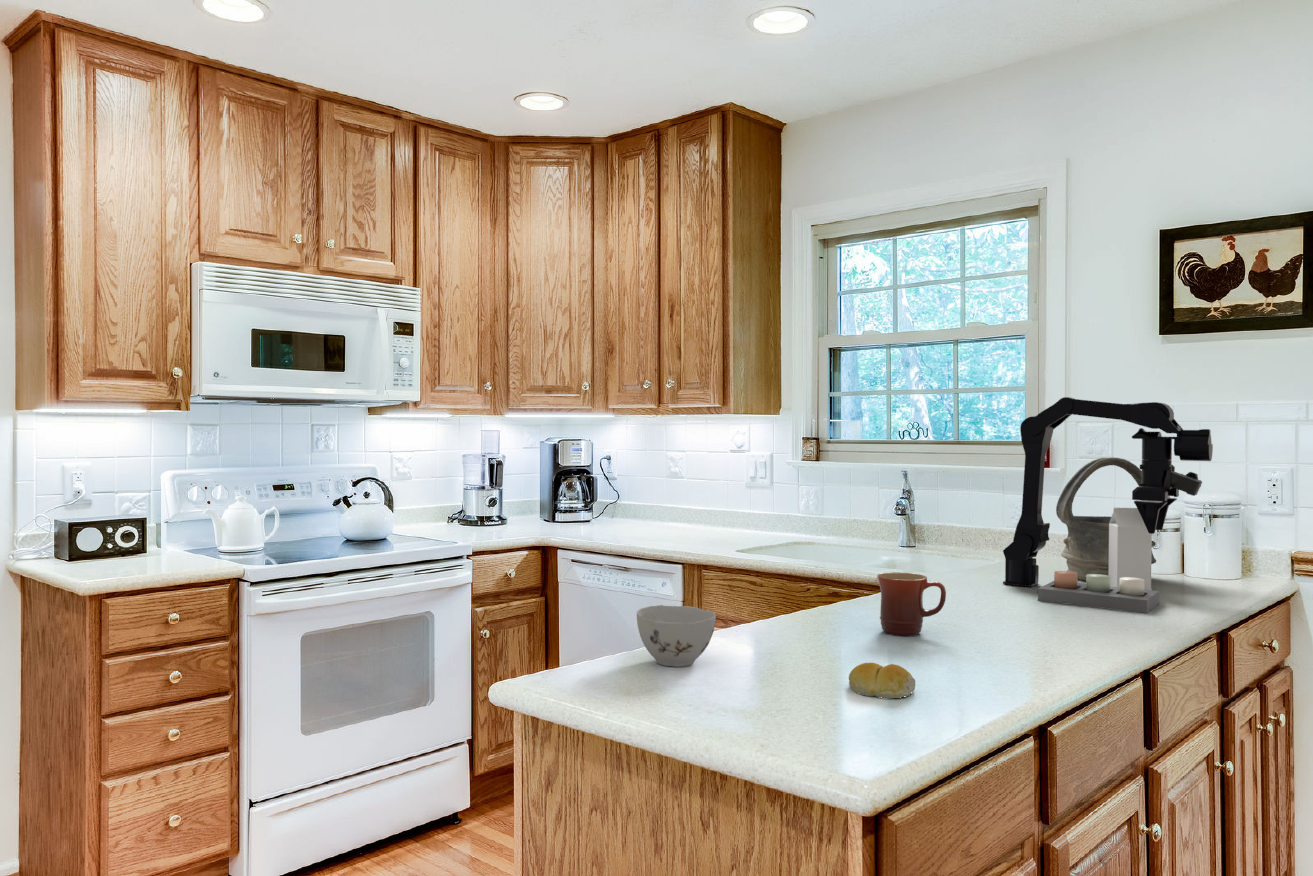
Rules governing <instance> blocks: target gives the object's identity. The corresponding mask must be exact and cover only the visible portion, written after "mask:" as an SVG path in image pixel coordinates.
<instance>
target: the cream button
mask: <svg viewBox="0 0 1313 876" xmlns="http://www.w3.org/2000/svg"><path fill="white" fill-rule="evenodd" d="M1119 593H1121V594H1126V595H1144V579H1140V578H1132V577H1121V578H1120V585H1119Z"/></svg>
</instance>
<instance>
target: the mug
mask: <svg viewBox="0 0 1313 876" xmlns="http://www.w3.org/2000/svg"><path fill="white" fill-rule="evenodd" d="M876 577H877V580H878V585H879V589H880V614H879V615H880V617H879V620H880V625H881V629H882V631H884V632H885V634H887V635H888V634H889V635H891V634H892V635H893V636H897V635H898V636H899V637H912V636H911V635H913V636H917V635H918V634H920V633H921V632H922V629H923V623H924V618H927V617H928V618H929V617H932V616H935V615H936V614H938V613H940V611H942V609H943V608H944V606H945V603H946V599H947V598H946V597H947V589H946V587H945V585H944V584H942V582H939V581H936V580H935V581H933V580H928V577H927V576H926V575H923V574H919V573H913V572H900V571H899V572H898V571H897V572H895V571H894V572H890V571H889V572H881V573H877V575H876ZM931 587H938V589H940V598H939V602H938V604H937V606H936V607H935V608H931V609H925V608H924V604H923V601H924V600H923V597H924V596H923V594H924V591H925V590H927V589H928V588H931ZM916 634H917V635H916Z"/></svg>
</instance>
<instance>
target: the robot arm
mask: <svg viewBox="0 0 1313 876" xmlns="http://www.w3.org/2000/svg"><path fill="white" fill-rule="evenodd" d="M1073 415H1074V416H1084V417H1090V418H1091V417H1093V418H1100V419H1101V418H1102V419H1108V420H1109V419H1112V420H1119V421H1124V422H1128V423H1131V424H1134V425H1138V426H1140V428H1139V429H1138V430H1137V431H1136V432H1135V433H1134V434H1132V435H1131V438H1132V439H1134V440H1135V439H1137V440H1139V439H1140V440H1141V464H1139V469H1140V470H1141V471H1142V483H1140V486H1136V487H1134V489H1133V490H1132V491H1131V492H1132V493H1131V495H1132V496H1131V497H1132V498H1131V500H1133V504H1135V506H1136V507H1135V508H1137V509H1138V511H1139V513H1140V515H1141V517H1142V519H1143V522H1144V524H1145V526H1146V528H1147V530H1148V533H1150V534H1152V535H1153V534H1155V533H1156V531H1163V529H1164V525H1165V520H1166V517H1167V513H1168V510H1169V507H1170V506H1171V505H1172V504H1173V503H1175V502H1176V501H1177V500H1178V497H1180V491H1182V492H1184V493H1186V494H1187V495H1189V496H1197V495H1198V492H1199V491H1200V489H1201V487H1202V484H1203V481H1202V480H1200V479H1199V476H1198V475H1199V474H1197V473H1195V472H1193V471H1189V472H1187V473H1186V474H1184V473H1179V472H1176V470H1175V469H1176V467H1175V466H1174V464H1172V458H1173V457H1172V455H1174V456H1176V457H1179V460H1180V461H1185V462H1186V461H1187V462H1188V461H1189V462H1190V461H1191V462H1211V461H1212V459H1213V450H1214V449H1213V448H1214V447H1213V443H1212V442H1213V441H1212V435H1211V432H1212V431H1211V429H1208V428H1207V429H1206V428H1204V429H1203V428H1202V429H1183V428H1182V425H1180V424H1179V423H1178V422H1177V421H1176V419H1175V413H1174V410H1173V408H1172V407H1171V406H1170V405H1169V404H1168V403H1167V404H1166V403H1165V402H1164V403H1163V402H1157V401H1154V402H1153V401H1152V402H1139V403H1138V402H1136V403H1135V402H1134V403H1116V402H1106V401H1099V400H1098V401H1096V400H1087V399H1078V398H1077V399H1076V398H1073V397H1071V396H1070V397H1068V396H1066V397H1065V396H1064V397H1062V398H1059V399H1058V401H1056V402H1055V403H1053V404H1052V405H1050V406H1049V407H1047V408H1045V409H1044V410H1042V411H1041V412H1039V413H1038V414H1037V415H1036V416H1035V415H1034V416H1029V417H1027V418H1025V419H1024V420H1023V421H1022V422H1021V424H1020V427H1019V430H1020V439H1021V444H1022V448H1023V451H1024V455H1025V456H1024V457H1025V458H1024V470H1023V471H1024V472H1023V485H1022V486H1023V488H1022V500H1021V501H1022V504H1021V513H1020V517H1019V519H1018V522H1017V524H1016V526H1015V531H1014V535H1013V540H1012V542H1011V543H1010V544H1009V545H1007V547H1005V548H1004V549H1003V550H1002V553H1003V555H1004V558H1005V559H1004V560H1005V563H1004V564H1005V565H1004V566H1005V575H1004V576H1005V577H1004V578H1005V579H1004V581H1002V584H1003V585H1011V586H1012V585H1013V586H1020V587H1031V588H1032V587H1033V586H1036V585H1038V584H1039V576H1040V575H1039V574H1040V573H1039V572H1040V571H1039V568H1040V567H1039V565H1038V564H1037V558H1036V557H1037V555H1038V553H1039V551H1041V550H1042V549H1044V548H1045V546H1046V544H1047V541H1050V537H1049V531H1050V527H1051V523H1049V522H1047V523H1046V522H1045V521H1044V519H1043V516H1042V509H1043V498H1044V497H1043V493H1044V479H1045V464H1046V463H1045V462H1046V454H1047V452H1048V450H1049V447H1050V445H1051V442H1052V438H1053V433H1054V430H1055V429H1056V428H1058V427H1059V426H1060V425H1062V423H1064V422H1065V421H1066V420H1067V419H1069V417H1071V416H1073ZM1141 426H1142V427H1145V428H1149V429H1153V430H1155V429H1159V430H1161V431H1162V432H1164V433H1166V434H1176V436H1162V432H1161V431H1147V430H1145V429H1144V428H1142V427H1141ZM1173 441H1174V442H1173ZM1172 444H1173V445H1172ZM1172 447H1173V448H1172ZM1172 451H1173V452H1172ZM1172 453H1173V454H1172ZM1155 529H1157V530H1155Z"/></svg>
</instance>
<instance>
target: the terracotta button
mask: <svg viewBox="0 0 1313 876" xmlns="http://www.w3.org/2000/svg"><path fill="white" fill-rule="evenodd" d="M1053 573H1054V575H1053V576H1054V577H1053V578H1054V580H1053V581H1054V586H1056V587H1060V588H1077V583H1078V579H1077V573H1076V572H1070V571H1067V570H1056V571H1054V572H1053Z"/></svg>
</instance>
